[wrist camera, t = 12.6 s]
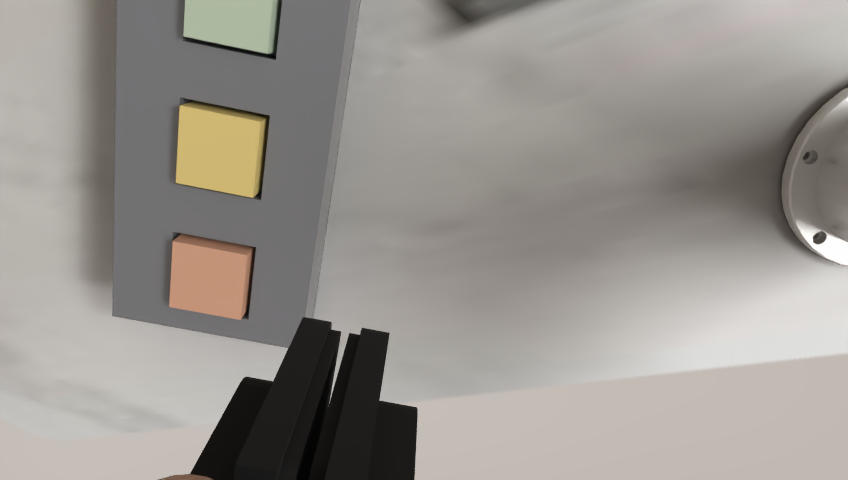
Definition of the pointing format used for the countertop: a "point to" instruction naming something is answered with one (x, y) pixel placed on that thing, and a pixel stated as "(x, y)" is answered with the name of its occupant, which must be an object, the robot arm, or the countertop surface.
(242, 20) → the sage key
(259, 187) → the ochre key
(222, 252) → the terracotta key
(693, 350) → the countertop surface
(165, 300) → the console
